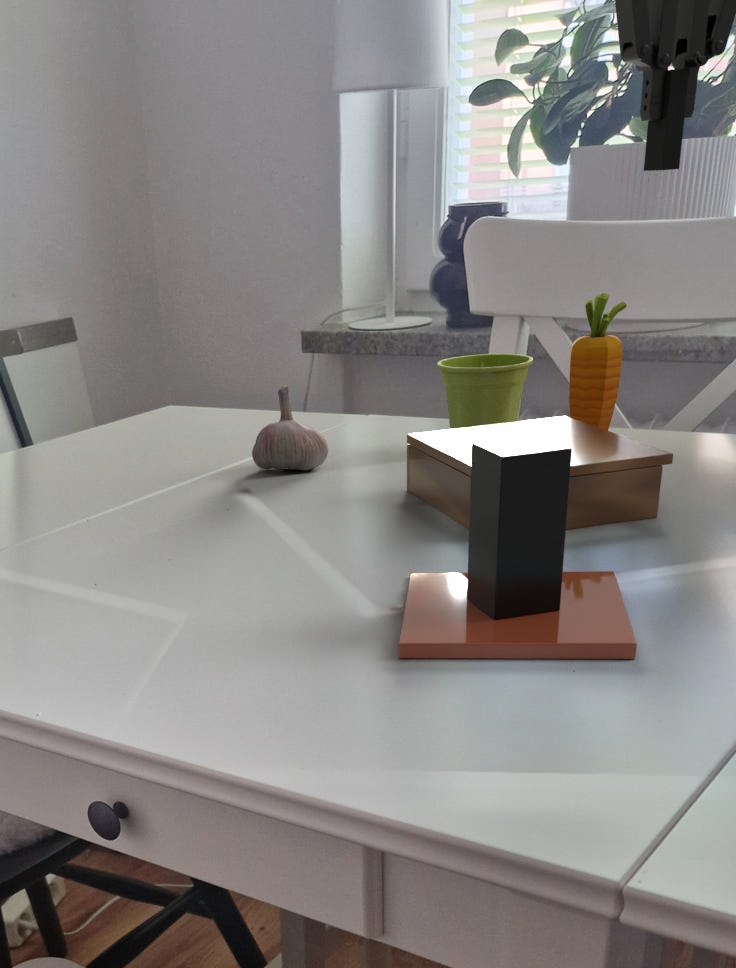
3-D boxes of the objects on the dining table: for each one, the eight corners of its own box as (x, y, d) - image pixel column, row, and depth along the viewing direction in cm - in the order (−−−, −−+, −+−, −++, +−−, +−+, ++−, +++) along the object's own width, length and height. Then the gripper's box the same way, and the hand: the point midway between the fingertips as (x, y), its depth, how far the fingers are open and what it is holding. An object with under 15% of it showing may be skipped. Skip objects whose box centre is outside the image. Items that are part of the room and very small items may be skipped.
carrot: (572, 456, 115) (585, 288, 107) (621, 460, 112) (638, 288, 105) (552, 467, 111) (564, 294, 104) (602, 471, 109) (618, 294, 101)
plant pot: (417, 455, 119) (418, 365, 115) (466, 438, 125) (469, 351, 121) (497, 464, 114) (502, 369, 109) (545, 445, 120) (550, 355, 115)
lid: (565, 424, 105) (565, 415, 105) (672, 464, 90) (673, 453, 90) (406, 443, 102) (406, 433, 102) (490, 487, 87) (490, 476, 87)
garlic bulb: (239, 470, 119) (234, 387, 115) (296, 457, 122) (292, 376, 118) (285, 481, 113) (280, 394, 109) (342, 467, 117) (340, 383, 113)
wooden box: (553, 479, 107) (556, 426, 105) (656, 526, 92) (663, 465, 90) (406, 497, 105) (406, 443, 102) (487, 549, 90) (490, 487, 87)
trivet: (613, 585, 81) (614, 570, 80) (635, 659, 69) (637, 643, 68) (410, 586, 83) (410, 572, 83) (398, 658, 71) (398, 643, 71)
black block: (529, 590, 78) (538, 435, 73) (560, 610, 74) (572, 448, 69) (466, 599, 77) (471, 442, 72) (494, 620, 73) (501, 457, 68)
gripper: (753, -215, 84) (708, 165, 96) (587, -213, 81) (562, 176, 93) (820, -248, 77) (763, 163, 89) (643, -247, 75) (609, 175, 87)
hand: (661, 169), depth 91 cm, fingers closed
